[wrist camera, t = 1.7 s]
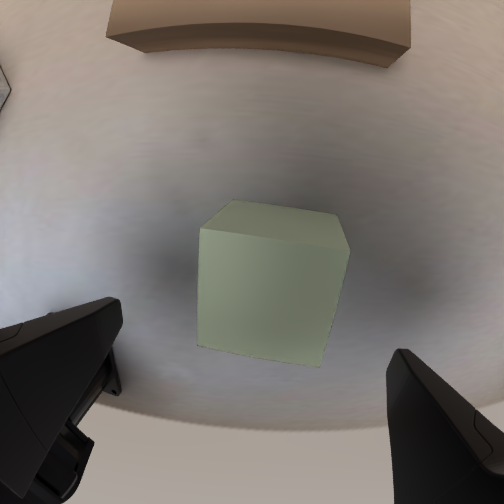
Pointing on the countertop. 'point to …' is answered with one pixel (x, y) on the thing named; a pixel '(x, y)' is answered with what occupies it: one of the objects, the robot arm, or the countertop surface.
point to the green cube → (270, 281)
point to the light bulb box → (3, 88)
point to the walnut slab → (267, 26)
